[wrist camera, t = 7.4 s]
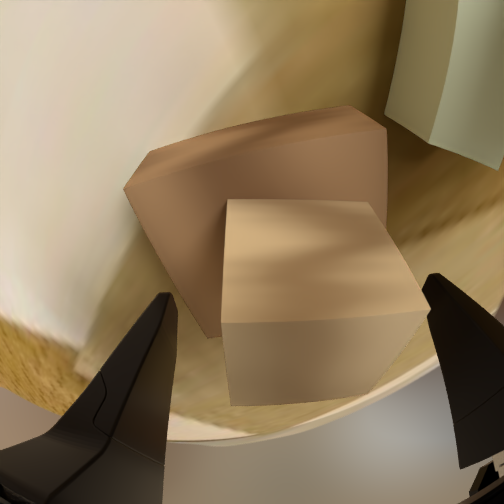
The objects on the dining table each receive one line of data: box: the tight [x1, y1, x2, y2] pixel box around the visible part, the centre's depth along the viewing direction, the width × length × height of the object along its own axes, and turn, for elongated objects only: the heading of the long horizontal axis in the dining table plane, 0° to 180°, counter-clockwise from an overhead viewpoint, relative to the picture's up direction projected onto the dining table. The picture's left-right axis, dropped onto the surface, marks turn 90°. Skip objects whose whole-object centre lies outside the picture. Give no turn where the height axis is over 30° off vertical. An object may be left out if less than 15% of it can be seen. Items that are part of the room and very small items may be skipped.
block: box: [384, 0, 504, 171], centre depth 7 cm, size 4×9×4 cm, turn 174°
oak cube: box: [221, 199, 431, 406], centre depth 9 cm, size 5×5×5 cm
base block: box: [123, 105, 388, 338], centre depth 13 cm, size 9×9×4 cm
